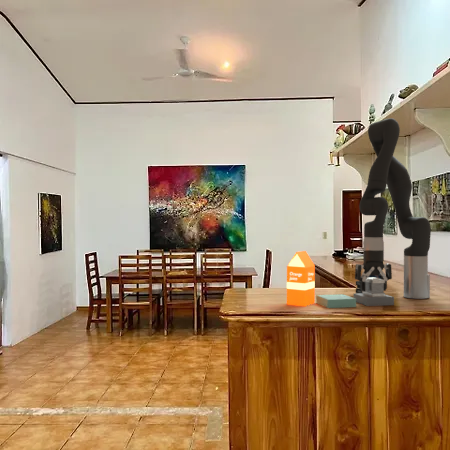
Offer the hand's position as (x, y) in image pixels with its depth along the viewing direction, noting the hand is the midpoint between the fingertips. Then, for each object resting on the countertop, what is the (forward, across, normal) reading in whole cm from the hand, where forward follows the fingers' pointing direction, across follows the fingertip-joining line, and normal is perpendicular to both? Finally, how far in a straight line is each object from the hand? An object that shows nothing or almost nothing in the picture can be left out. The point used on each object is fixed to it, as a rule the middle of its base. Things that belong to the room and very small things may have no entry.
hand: (373, 291), depth 186 cm
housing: (+2, 0, 0) cm, 2 cm away
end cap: (+5, -4, -14) cm, 15 cm away
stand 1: (+5, +16, +1) cm, 17 cm away
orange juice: (+5, +28, -4) cm, 29 cm away
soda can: (+5, -15, -27) cm, 31 cm away
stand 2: (+5, 0, 0) cm, 5 cm away
